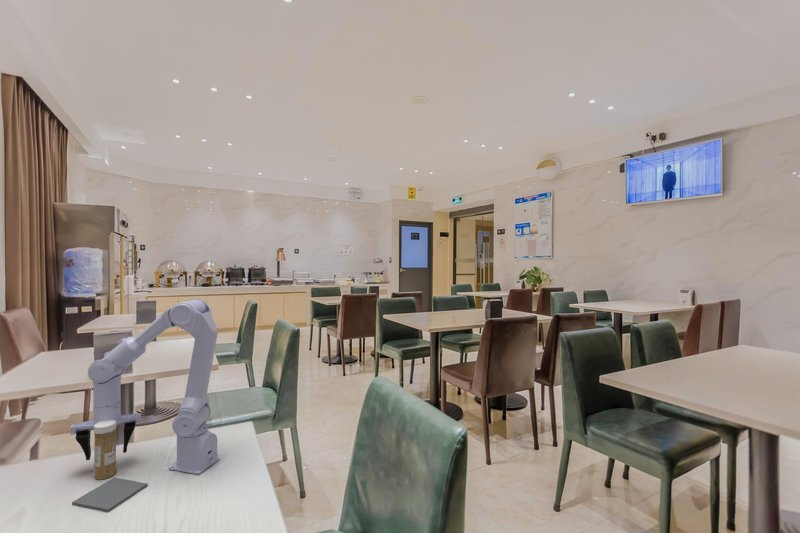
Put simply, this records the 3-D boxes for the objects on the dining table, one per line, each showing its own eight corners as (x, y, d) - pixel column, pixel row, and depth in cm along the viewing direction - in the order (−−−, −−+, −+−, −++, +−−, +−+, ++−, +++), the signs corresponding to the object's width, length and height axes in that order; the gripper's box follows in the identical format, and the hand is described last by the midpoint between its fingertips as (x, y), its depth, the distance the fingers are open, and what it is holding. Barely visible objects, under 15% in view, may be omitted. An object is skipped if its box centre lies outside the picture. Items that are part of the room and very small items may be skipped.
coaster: (147, 485, 94) (147, 483, 94) (108, 512, 84) (108, 509, 84) (114, 479, 96) (114, 477, 96) (72, 504, 86) (72, 502, 86)
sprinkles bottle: (115, 476, 97) (115, 424, 97) (92, 482, 95) (92, 428, 94) (116, 468, 101) (116, 417, 101) (94, 473, 99) (94, 421, 98)
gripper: (141, 393, 108) (141, 441, 109) (74, 403, 101) (74, 454, 101) (140, 402, 102) (139, 452, 103) (68, 412, 95) (68, 467, 95)
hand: (107, 454), depth 101 cm, fingers open, 7 cm apart
